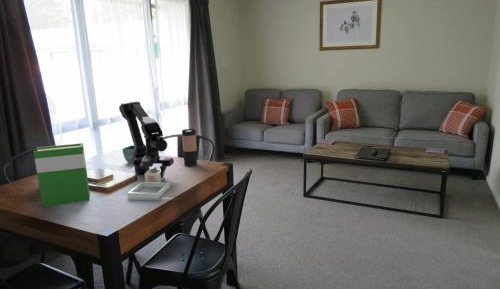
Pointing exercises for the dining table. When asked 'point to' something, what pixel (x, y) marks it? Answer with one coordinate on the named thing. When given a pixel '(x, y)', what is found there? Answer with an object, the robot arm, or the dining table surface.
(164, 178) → the stand
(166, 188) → the tray
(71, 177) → the hardback book
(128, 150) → the flower pot
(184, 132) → the travel mug
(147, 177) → the collar
